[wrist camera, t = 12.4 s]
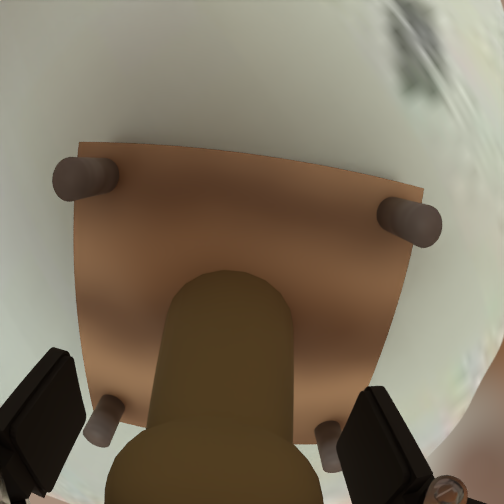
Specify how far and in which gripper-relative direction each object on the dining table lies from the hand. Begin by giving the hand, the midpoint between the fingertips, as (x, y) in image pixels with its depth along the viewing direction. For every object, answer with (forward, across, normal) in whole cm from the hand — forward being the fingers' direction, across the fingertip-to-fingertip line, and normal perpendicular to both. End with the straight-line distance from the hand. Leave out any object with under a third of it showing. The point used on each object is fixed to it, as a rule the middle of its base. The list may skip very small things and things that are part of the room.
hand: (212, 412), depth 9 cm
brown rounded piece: (+6, 0, 0) cm, 6 cm away
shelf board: (+9, 0, 0) cm, 9 cm away
